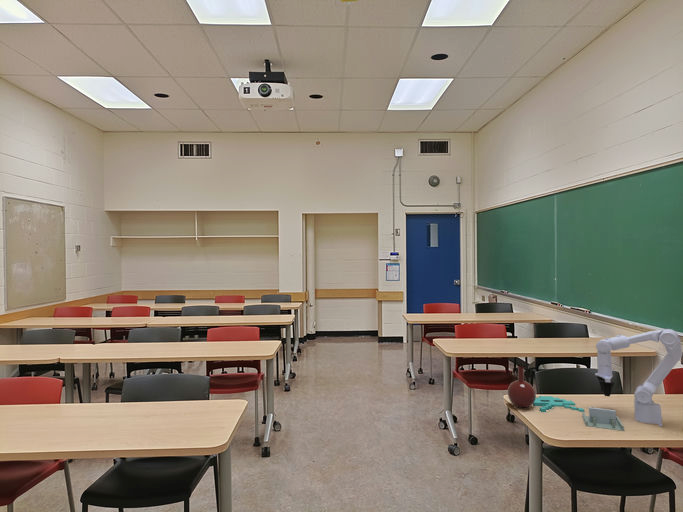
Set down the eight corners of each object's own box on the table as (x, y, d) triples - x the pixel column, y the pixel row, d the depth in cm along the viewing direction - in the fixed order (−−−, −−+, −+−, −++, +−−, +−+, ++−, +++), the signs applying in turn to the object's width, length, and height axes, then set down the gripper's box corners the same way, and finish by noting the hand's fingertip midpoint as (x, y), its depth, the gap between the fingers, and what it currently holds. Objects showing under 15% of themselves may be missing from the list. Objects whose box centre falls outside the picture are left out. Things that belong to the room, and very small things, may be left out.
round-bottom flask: (515, 411, 192) (514, 370, 193) (503, 402, 205) (502, 364, 206) (541, 411, 193) (540, 370, 194) (527, 402, 206) (526, 364, 207)
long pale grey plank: (615, 423, 173) (615, 410, 174) (616, 425, 172) (615, 411, 172) (589, 420, 178) (588, 407, 178) (589, 421, 176) (589, 408, 177)
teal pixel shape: (584, 414, 189) (565, 400, 209) (584, 409, 189) (565, 396, 209) (541, 413, 191) (526, 399, 211) (541, 408, 191) (526, 395, 211)
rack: (618, 422, 178) (617, 413, 178) (624, 433, 166) (624, 423, 166) (582, 417, 184) (581, 409, 184) (586, 427, 172) (585, 418, 172)
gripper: (592, 361, 196) (593, 388, 196) (597, 367, 183) (598, 397, 183) (609, 362, 193) (610, 390, 193) (615, 369, 180) (616, 399, 180)
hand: (605, 393), depth 188 cm, fingers open, 7 cm apart
